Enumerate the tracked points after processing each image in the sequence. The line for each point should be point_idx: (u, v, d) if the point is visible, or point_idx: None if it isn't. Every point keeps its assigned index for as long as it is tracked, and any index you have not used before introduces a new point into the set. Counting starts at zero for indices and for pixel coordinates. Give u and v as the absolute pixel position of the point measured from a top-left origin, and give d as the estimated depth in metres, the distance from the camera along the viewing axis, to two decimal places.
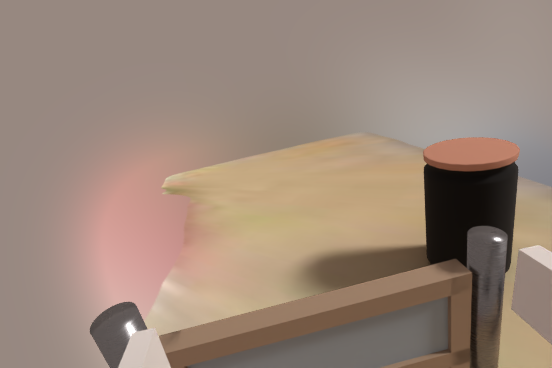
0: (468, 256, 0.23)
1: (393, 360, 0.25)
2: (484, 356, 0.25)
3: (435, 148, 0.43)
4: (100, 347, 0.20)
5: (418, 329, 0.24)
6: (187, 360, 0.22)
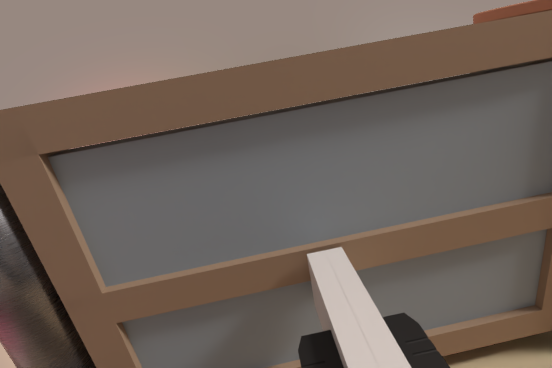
0: None
1: (455, 204, 0.14)
2: None
3: None
4: None
5: (508, 137, 0.13)
6: (45, 138, 0.10)
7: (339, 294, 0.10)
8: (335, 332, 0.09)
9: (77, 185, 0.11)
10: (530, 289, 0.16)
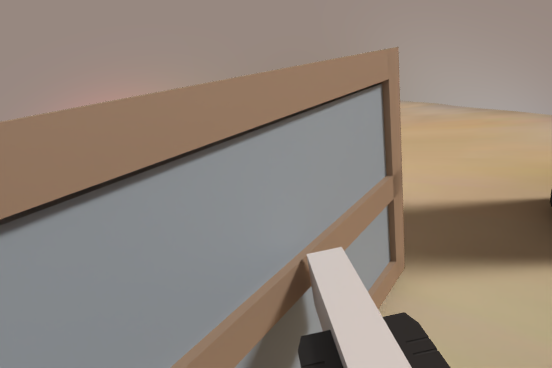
0: None
1: (352, 198, 0.17)
2: None
3: None
4: None
5: (367, 140, 0.17)
6: None
7: (339, 294, 0.10)
8: (335, 332, 0.09)
9: None
10: (387, 249, 0.22)
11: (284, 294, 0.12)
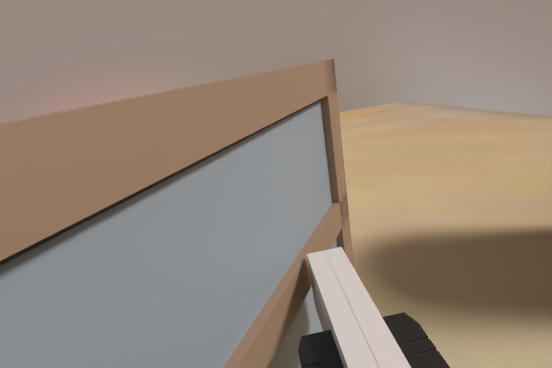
0: None
1: (301, 240, 0.14)
2: None
3: None
4: None
5: (311, 167, 0.15)
6: None
7: (339, 294, 0.10)
8: (335, 332, 0.09)
9: None
10: None
11: None
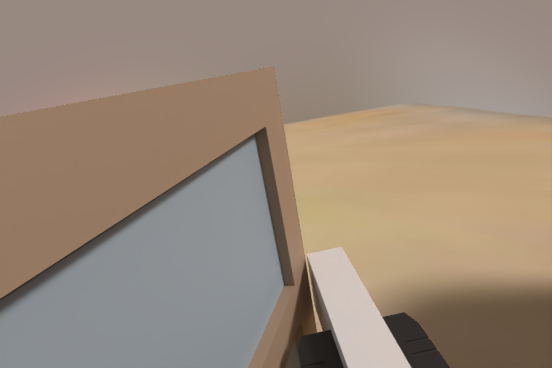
0: None
1: None
2: None
3: None
4: None
5: (240, 255, 0.08)
6: None
7: (339, 294, 0.10)
8: (335, 332, 0.09)
9: None
10: None
11: None
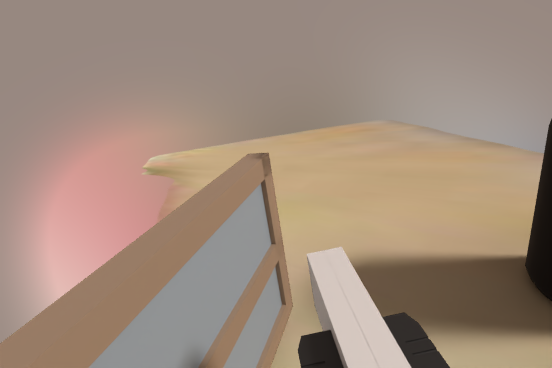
0: None
1: (249, 275, 0.22)
2: None
3: None
4: None
5: (254, 227, 0.23)
6: None
7: (339, 294, 0.10)
8: (335, 332, 0.09)
9: None
10: (278, 297, 0.28)
11: None
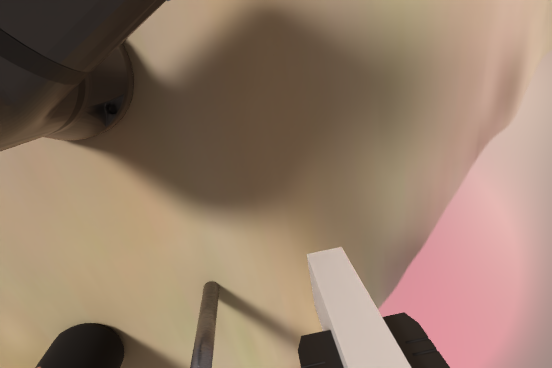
0: None
1: None
2: (214, 323, 0.41)
3: None
4: None
5: None
6: None
7: (339, 294, 0.10)
8: (335, 332, 0.09)
9: None
10: None
11: None
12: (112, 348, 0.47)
